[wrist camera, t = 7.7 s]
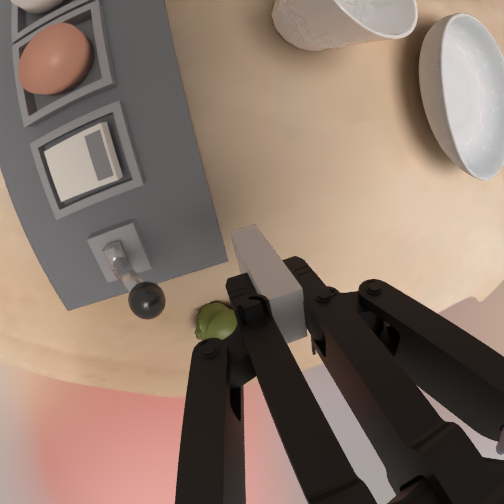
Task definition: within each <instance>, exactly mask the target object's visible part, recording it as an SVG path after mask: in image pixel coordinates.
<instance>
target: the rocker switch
mask: <svg viewBox="0 0 504 504" xmlns="http://www.w3.org/2000/svg"><path fill="white" fill-rule="evenodd" d="M44 154H45V157H46V160H47V164H48V167H49V170H50V173H51V176H52V179H53V182H54V184H55V187H56V190H57V193H58V195H59V198H60V201H61V202H62V201H65V200H67V199H70V198H72V197H74V196H77V195H79V194H82V193H85V192H87V191H90V190H92V189H95V188H98V187H100V186H103V185H106V184H108V183H111V182H114V181H117V180H119V179H120V178H122V177H123V175H122V171H121V168H120V165H119V162H118V159H117V156H116V152H115V149H114V145H113V142H112V139H111V135H110V131H109V128H108V124H107V122H102V123H99V124H97V125H95V126H93V127H90V128H88V129H86V130H84V131H82V132H80V133H78V134H76V135H74V136H72V137H70V138H68V139H66V140H64V141H62V142H60V143H59V144H57V145H55V146H53V147H51V148H50V149H48V150H46V151H44Z"/></svg>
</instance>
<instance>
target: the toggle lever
mask: <svg viewBox="0 0 504 504" xmlns="http://www.w3.org/2000/svg"><path fill="white" fill-rule="evenodd" d="M102 251H103V253H104V255H105V257H106V259H107V261H108V263H109V265H110V267H111V269H112V271H113V273H114V275H115V277H116V279H121V281H122V282H123V284H124V285H125V287H126V288H127V290H128V291H129V298H128V302H129V306H130V308H131V310H132V312H133V313H134V314H135V315H136V316H138V317H139V318H142V319H153V318H155V317H157V316H159V315H160V314H161V312H162V311H163V309H164V307H165V295H164V293H163V291H162V289H161V288H160V287H159V286H158V285H157V284H155V283H153V282H148V281H143V280H142V279H141V277H140V276H139V275H138V274H137V273H136V271H135V270H134V269H133V268H132V266H131V265H130V264H129V263H128V261H127V259H126V256H125V254H124V252H123V250H122V247H121V245H120V243H119V241H114V242H111V243H109V244H108V245H106V246H105V247H104V248H103V249H102Z"/></svg>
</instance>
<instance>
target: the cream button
mask: <svg viewBox="0 0 504 504" xmlns="http://www.w3.org/2000/svg"><path fill="white" fill-rule="evenodd" d="M63 1H64V0H11V2H12V3H14V4H15V5H17V6H19V7H20V8H22V9H24V10H25V11H27V12H29V13H31V14H39V13H43V12H46V11H48V10H50V9H52V8H54V7H56V6H57V5H59V4H60V3H61V2H63Z"/></svg>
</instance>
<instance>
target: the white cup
mask: <svg viewBox="0 0 504 504" xmlns="http://www.w3.org/2000/svg"><path fill="white" fill-rule="evenodd" d="M271 15H272V18H273V22H274V26H275V28H276V30H277V31H278V32H279V33H280V34H281V36H282V37H283V38H284V39H285V40H286V41H287V42H289V43H291V44H292V45H294V46H296V47H298V48H299V49H303V50H309V51H315V52H316V51H320V50H324V49H328V48H339V47H345V46H351V45H357V44H362V43H369V42H375V41H382V40H390V39H399V38H403V37H406V36H407V35H409V34H410V33H411V32H412V31H413V30H414V28H415V26H416V23H417V18H418V10H417V4H416V0H276V1H275V3H274V6H273V10H272V13H271Z"/></svg>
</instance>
